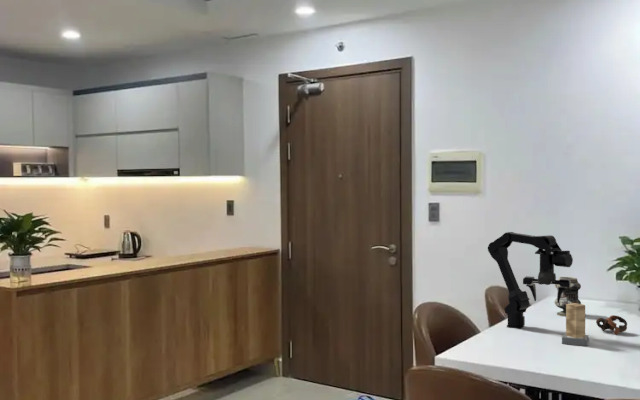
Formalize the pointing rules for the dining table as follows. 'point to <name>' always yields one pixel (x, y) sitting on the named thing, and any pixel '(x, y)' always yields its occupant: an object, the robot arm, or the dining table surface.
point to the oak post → (575, 320)
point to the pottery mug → (612, 324)
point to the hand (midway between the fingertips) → (546, 301)
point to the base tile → (575, 340)
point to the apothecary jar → (568, 295)
